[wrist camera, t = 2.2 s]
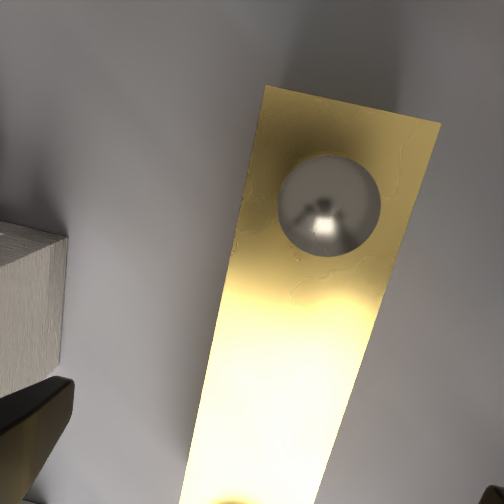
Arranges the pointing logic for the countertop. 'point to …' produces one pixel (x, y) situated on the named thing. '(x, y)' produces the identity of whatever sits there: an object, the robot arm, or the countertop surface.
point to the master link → (301, 292)
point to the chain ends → (30, 305)
